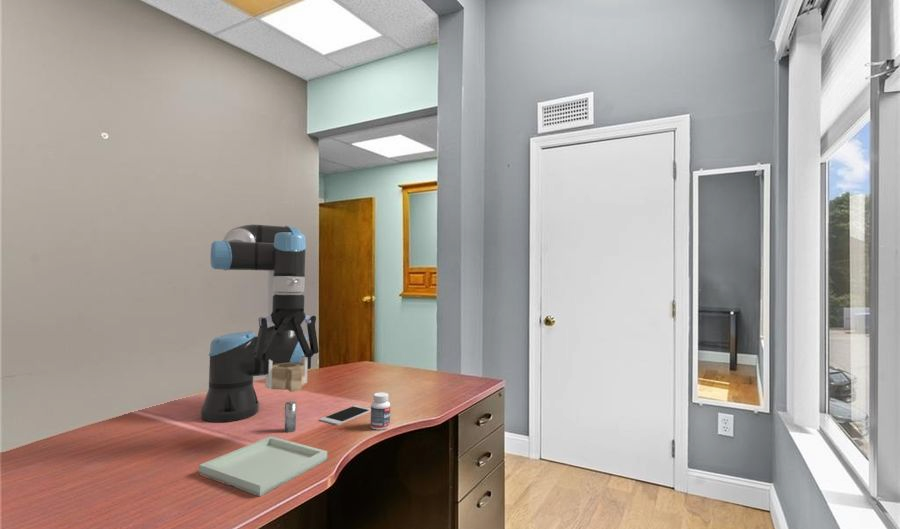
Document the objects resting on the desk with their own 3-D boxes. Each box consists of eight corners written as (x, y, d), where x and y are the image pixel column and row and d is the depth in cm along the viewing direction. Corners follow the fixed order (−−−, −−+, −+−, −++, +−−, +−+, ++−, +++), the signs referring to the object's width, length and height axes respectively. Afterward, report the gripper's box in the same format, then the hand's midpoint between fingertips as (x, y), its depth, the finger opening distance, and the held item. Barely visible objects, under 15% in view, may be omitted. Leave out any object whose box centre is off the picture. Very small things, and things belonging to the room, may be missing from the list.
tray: (199, 474, 90) (199, 464, 90) (270, 444, 106) (270, 436, 106) (260, 496, 82) (260, 485, 82) (327, 460, 98) (327, 451, 98)
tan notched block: (265, 384, 110) (265, 364, 110) (296, 380, 115) (297, 361, 115) (279, 393, 101) (279, 372, 101) (312, 388, 106) (313, 368, 106)
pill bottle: (385, 431, 116) (386, 397, 116) (367, 429, 117) (368, 396, 117) (392, 424, 121) (393, 392, 121) (374, 422, 122) (375, 391, 122)
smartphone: (318, 421, 123) (318, 418, 123) (355, 407, 137) (355, 404, 137) (337, 426, 120) (337, 423, 120) (373, 411, 133) (373, 408, 133)
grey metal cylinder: (282, 431, 114) (282, 403, 115) (290, 427, 117) (291, 400, 117) (289, 432, 113) (290, 405, 113) (297, 429, 116) (298, 402, 116)
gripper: (248, 294, 100) (245, 394, 100) (334, 293, 113) (332, 381, 113) (240, 293, 106) (237, 387, 105) (322, 292, 119) (320, 376, 118)
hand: (286, 384), depth 109 cm, fingers closed on tan notched block, 8 cm apart
